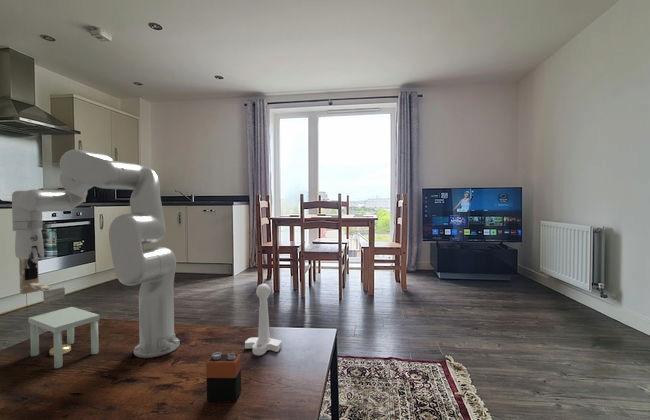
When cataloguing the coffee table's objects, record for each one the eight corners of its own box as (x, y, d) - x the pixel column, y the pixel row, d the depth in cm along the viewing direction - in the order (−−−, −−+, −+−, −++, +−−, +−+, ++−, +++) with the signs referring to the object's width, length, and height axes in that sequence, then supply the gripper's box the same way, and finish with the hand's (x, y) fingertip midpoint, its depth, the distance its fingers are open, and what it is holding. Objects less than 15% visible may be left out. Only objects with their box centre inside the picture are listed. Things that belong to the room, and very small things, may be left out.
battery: (213, 391, 74) (213, 349, 74) (241, 391, 74) (241, 349, 73) (206, 402, 70) (205, 358, 69) (235, 403, 69) (235, 359, 69)
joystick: (283, 346, 97) (282, 283, 96) (274, 358, 89) (273, 289, 89) (251, 343, 99) (250, 281, 99) (239, 354, 92) (238, 287, 92)
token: (74, 351, 96) (74, 346, 96) (54, 358, 91) (53, 353, 91) (66, 347, 98) (66, 343, 98) (46, 354, 94) (46, 349, 94)
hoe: (64, 298, 100) (64, 255, 100) (45, 302, 96) (44, 257, 96) (36, 289, 111) (36, 250, 110) (18, 293, 106) (17, 252, 106)
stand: (100, 352, 94) (99, 314, 94) (55, 369, 85) (54, 327, 84) (72, 341, 102) (72, 306, 102) (29, 355, 93) (28, 317, 92)
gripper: (52, 226, 107) (53, 279, 107) (32, 224, 114) (33, 274, 115) (23, 227, 100) (24, 284, 100) (3, 226, 108) (5, 278, 108)
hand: (28, 278), depth 107 cm, fingers closed on hoe, 3 cm apart
